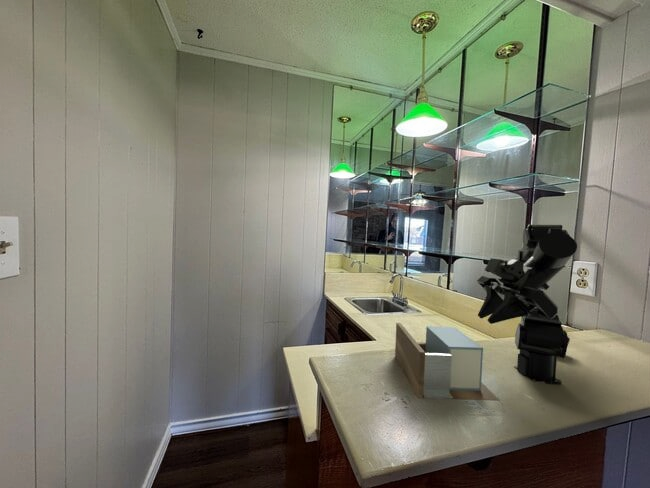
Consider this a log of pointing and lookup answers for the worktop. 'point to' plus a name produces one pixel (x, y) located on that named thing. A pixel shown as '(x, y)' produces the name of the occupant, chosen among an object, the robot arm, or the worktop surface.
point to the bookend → (437, 375)
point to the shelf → (414, 365)
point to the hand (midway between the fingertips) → (484, 319)
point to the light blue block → (457, 356)
